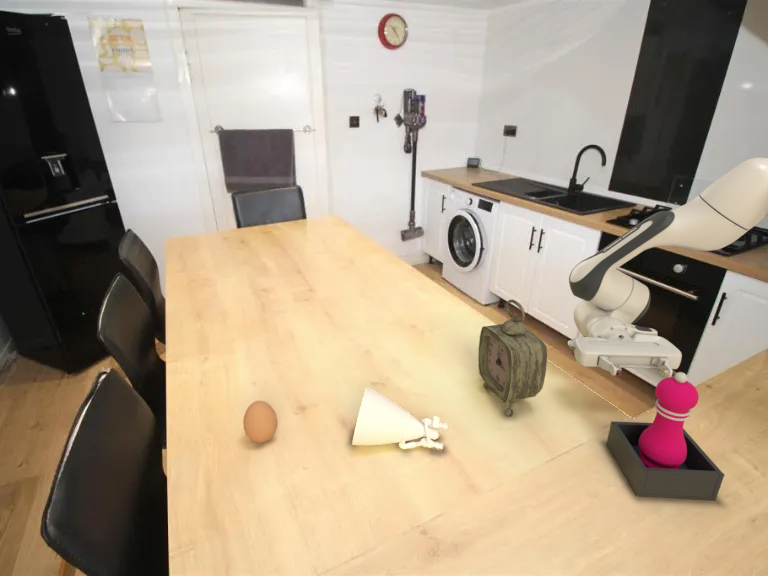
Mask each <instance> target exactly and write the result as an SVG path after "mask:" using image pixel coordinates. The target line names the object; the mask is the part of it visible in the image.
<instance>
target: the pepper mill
mask: <svg viewBox="0 0 768 576" xmlns="http://www.w3.org/2000/svg"><path fill="white" fill-rule="evenodd" d="M654 394H655V396H656V400H655V405H654V409H655V411H656V413H655V414H656V415H655V417H654V420H653V421H652V422H651V423H652V424H651V425H650V426H649V427H647V428H646V429H645V430H644V431H643V433H642V434H641V435H640V438H639V441H638V445H639V448H640V451H639V454H638V456H639V458H640V459H641V461H642V462H643V464H644V465H645V467H646V468H665V469H679V465H680V464H682V463H684V461H685V460H686V455H687V447H686V442H685V439H684V435H683V429H684V423H685V421H688V420H689V419H690V417H691V413H692V409H694V408H695V407H696V406H697V405H698V402H699V399H700V397H699V396H700V395H699V392H698V389H697V388H696V387H695V385H693V384H692V383H691V382H690V381H688V375H687V374H686V373H685V372H682V371H678V372H676V373H675V374H674V376H672V377H664V378H663V379H661V380H659V382H658V383H657V384H656V387H655V389H654Z"/></svg>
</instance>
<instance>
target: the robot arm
mask: <svg viewBox="0 0 768 576" xmlns="http://www.w3.org/2000/svg"><path fill="white" fill-rule="evenodd" d="M765 217H766V218H767V217H768V158H767V157H752V158H748V159H745V160H744V161H742V162H741V163H739V164H738V165H736V166H734V167H732V168H731V169H729V170H728V171H726V172H725V173H724V174H722V175H721V176H720V177H718V178H716V180H714V181H713V182H712V183H711V184H709V185H708V186H706V188H705V189H704V190H702V191H700V193H699V194H698V195H696V197H694V198H692V199H691V200H690V201H688V202H686V203H684V204H683V205H681V206H679V207H676V208H673V209H671V210H660V211H658V212H655V213H653V214H651V215H650V216H648V217H646V218H645V219H644V220H641V222H639V223H638V224H635V226H633V227H632V228H630V229H629V230H628V231H625V233H623V234H622V235H621V236H619V237H618V238H616V239H615V240H614V241H612V242H611V243H609V244H608V245H607V246H605V247H604V248H602V249H601V250H600V251H598V252H596V253H595V254H593V255H591V256H589V257H587V258H585V259H583V260H580V262H578V263H577V264H576V265H575V266H574V268H572V269H571V271H570V273H569V276H568V283H569V289H570V291H571V293H572V295H573V296H574V297H577V298H578V299H581V300H582V301H580V302H578V303H577V305H576V306H575V307H574V310H573V321H574V324H575V326H576V328H577V329H578V331H579V333H580V334H581V335H582V336H578V337H574V338H572V339H570V340H568V341H567V345H568V347H569V348H570V349H571V350H573V355H574V358H575V360H576V363H577V364H578V365H580V366H582V367H589V368H592V367H593V368H600V369H602V370H604V371H606V372H609V373H610V375H611V376H613V377H615V376H616V377H617V376H618V377H619V376H622V372H623V369H625V368H626V369H653V370H655V369H657V370H658V374H659V375H660V376H661V377H662V378H669V377H673V372H674V370H678V368H679V367H680V365H681V362H682V357H683V354H682V351H680V349H679V348H678V347H676V346H675V345H674V344H673V343H672V342H670V341H669V340H668V339H666V338H664V337H663V336H659V335H658V330H656V329H655V328H651V327H645V326H640V325H634V324H636V323H638V322H639V321H640V320H641V319H642V318H643V317H644V316H645V315H646V313H647V312H648V311H649V308H650V305H651V291H650V289H649V286H647V285H646V284H644V283H642V282H641V281H639V280H637V279H636V278H633V277H632V276H630V275H628V274H626V273H624V272H622V271H621V270H618V268H620V267H621V266H623V265H625V264H626V263H627V262H629V261H630V260H632V259H634V258H635V257H637V256H638V255H640V254H641V253H643V252H644V251H646V250H649V249H653V248H657V247H668V248H677V249H684V250H689V251H694V252H710V251H711V252H712V251H717V250H721V249H723V248H725V247H727V246H729V245H731V244H733V243H735V241H737V240H738V239H740V238H741V237H742V236H744V235H745V234H746V233H747V232H748V231H750V230H751V229H753V228H754V227H755V226H756V225H758V224H759V223H760V222H761V221H762V220H763V219H765ZM622 368H623V369H622Z"/></svg>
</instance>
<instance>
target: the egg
mask: <svg viewBox="0 0 768 576" xmlns="http://www.w3.org/2000/svg"><path fill="white" fill-rule="evenodd" d="M242 421H243V430H244V433H245V435H246V436H247V438H248V439H249V440H251V441H253V442H254V443H265V442H268V441H269V440H271V439H272V437H273V436H274V435H275V433H276V431H277V427H278V417H277V414H276V411H275V409H274V408H273V407H272V405H270V404H269V403H268V402H267V401H265V400H256V401H253V402H252V403H251V404H249V405H248V406H247V409H246V410H245V412H244V416H243V420H242Z"/></svg>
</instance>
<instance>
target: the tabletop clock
mask: <svg viewBox="0 0 768 576" xmlns="http://www.w3.org/2000/svg"><path fill="white" fill-rule="evenodd" d="M510 303H512V304H514V305H516V306H517V307H518V308H519V310H520V312H521V315H522V318H518V313H516V312H513V313H512V312H511V311H510V308H509V304H510ZM505 308H506V309H505V310H506V312H507V314H508V315H509V317H510V318H509V319H507V320H505V322H504V323H500V324H499V323H498V324H492V325H485V326H482V327H481V330H480V334H479V342H478V358H477V359H478V373H479V375H480V377H481V379H482V381H483V382H484V383H483V384H482V386H483V389H485V390H488V389H489V390H490V391H491V392H492V393H493V394H494V395H495V396H496V397H497V398H498V399H499V400H500V401H502V402H504V403H507V402H509V406H508V408H507V409H505V415H506V416H508V417H512V416H513V415H514V410H513V405H514V402H515V401H519V400H525V399H530V398H534V397H537V395H538V394H539V393H540V392H541V391H542V389H543V387H544V384H545V379H546V374H547V373H546V372H547V364H548V347H547V345H546V343H545V342H544V341H543V340H542V339H541V338H540V337H539V336H537V335H536V334H534V332H532V331H530V330H529V329H527V328H526V327H525V324H524V323H523V322H524V321H525V318H526V313H525V309H524V307H523V306H522V305H521V304H520V302H518V301H517V300H515V299H509V300H507V301H506V304H505Z"/></svg>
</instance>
